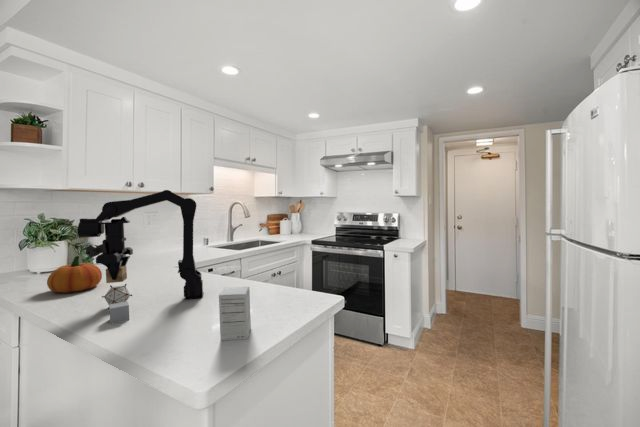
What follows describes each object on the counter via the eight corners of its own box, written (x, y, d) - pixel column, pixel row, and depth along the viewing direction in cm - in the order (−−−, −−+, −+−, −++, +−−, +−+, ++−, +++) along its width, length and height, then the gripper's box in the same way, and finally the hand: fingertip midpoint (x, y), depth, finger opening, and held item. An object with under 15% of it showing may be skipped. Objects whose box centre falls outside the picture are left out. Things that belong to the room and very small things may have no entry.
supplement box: (226, 329, 86) (224, 287, 86) (251, 328, 87) (250, 285, 86) (219, 341, 79) (217, 294, 79) (247, 339, 80) (246, 293, 79)
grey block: (128, 315, 99) (127, 301, 99) (129, 320, 95) (128, 305, 95) (109, 319, 96) (109, 304, 96) (110, 324, 92) (109, 308, 92)
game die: (119, 318, 107) (112, 301, 101) (101, 308, 109) (93, 292, 103) (139, 299, 114) (134, 283, 108) (122, 291, 116) (115, 274, 110)
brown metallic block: (126, 278, 111) (126, 265, 111) (122, 281, 107) (121, 268, 106) (111, 279, 110) (110, 266, 110) (106, 283, 105) (105, 269, 105)
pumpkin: (36, 294, 127) (34, 259, 127) (83, 282, 146) (82, 252, 145) (68, 297, 122) (66, 261, 121) (112, 284, 140) (111, 253, 140)
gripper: (99, 234, 114) (101, 274, 115) (76, 240, 96) (78, 287, 97) (132, 233, 118) (134, 271, 118) (115, 238, 100) (117, 283, 100)
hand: (116, 277), depth 108 cm, fingers closed on brown metallic block, 5 cm apart
